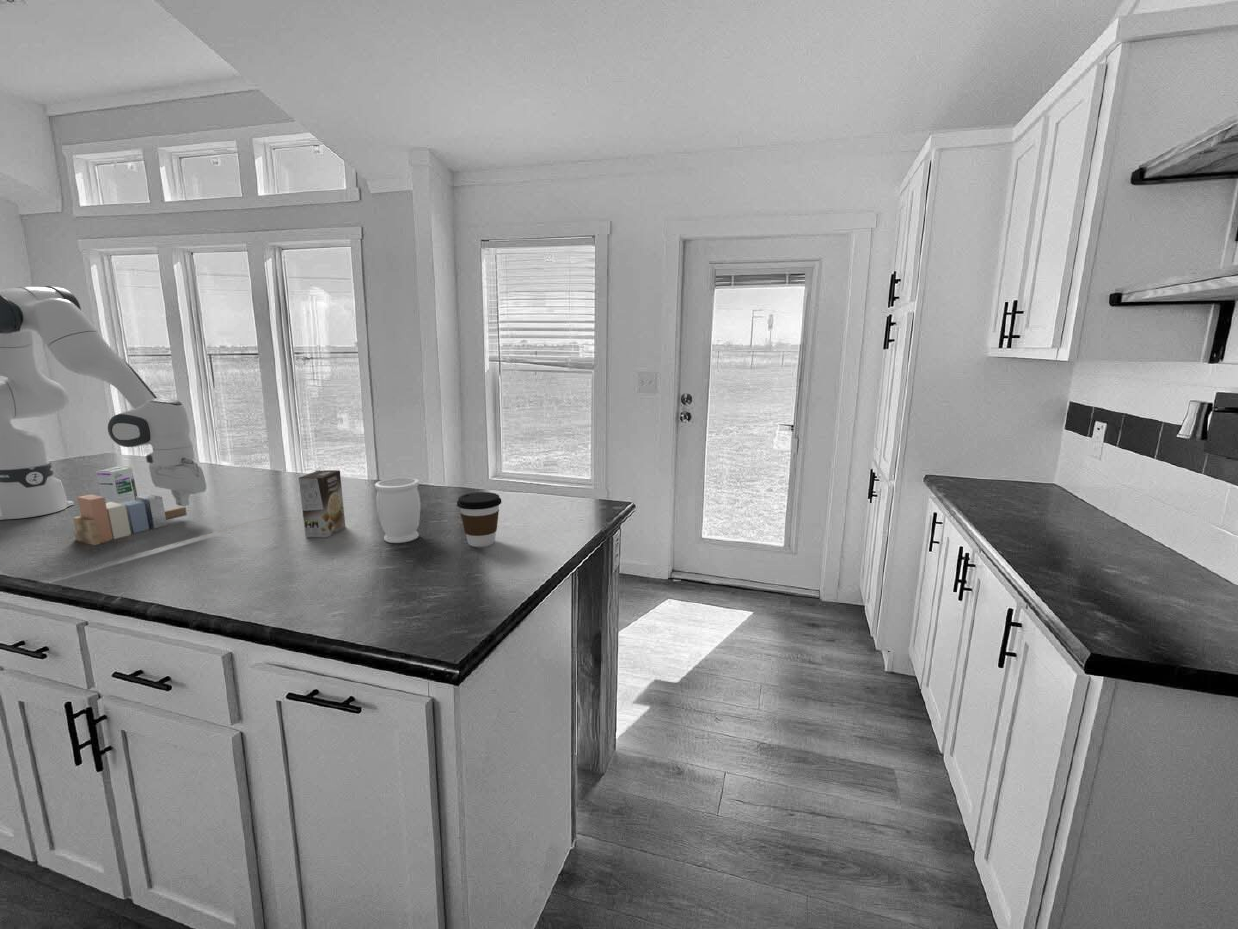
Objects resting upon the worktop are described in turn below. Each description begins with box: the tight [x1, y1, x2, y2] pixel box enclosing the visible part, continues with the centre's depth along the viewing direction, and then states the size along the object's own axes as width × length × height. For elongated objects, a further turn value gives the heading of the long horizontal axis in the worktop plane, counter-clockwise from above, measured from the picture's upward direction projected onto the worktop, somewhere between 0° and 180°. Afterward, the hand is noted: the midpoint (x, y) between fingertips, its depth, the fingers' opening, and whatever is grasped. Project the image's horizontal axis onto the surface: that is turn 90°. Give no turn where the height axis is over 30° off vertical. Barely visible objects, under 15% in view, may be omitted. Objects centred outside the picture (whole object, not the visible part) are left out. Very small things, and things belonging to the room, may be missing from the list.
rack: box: [72, 506, 187, 546], centre depth 153 cm, size 9×25×7 cm, turn 155°
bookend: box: [136, 494, 168, 529], centre depth 155 cm, size 7×3×8 cm, turn 65°
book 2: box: [106, 502, 132, 540], centre depth 147 cm, size 7×4×8 cm, turn 65°
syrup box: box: [95, 466, 138, 503], centre depth 165 cm, size 6×6×14 cm
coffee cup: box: [456, 491, 502, 548], centre depth 144 cm, size 11×11×12 cm
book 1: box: [76, 494, 113, 542], centre depth 144 cm, size 6×3×11 cm, turn 65°
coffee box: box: [298, 469, 346, 539], centre depth 151 cm, size 9×6×16 cm
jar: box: [374, 477, 421, 544], centre depth 147 cm, size 11×10×15 cm
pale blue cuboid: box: [118, 500, 150, 534], centre depth 151 cm, size 5×3×8 cm, turn 65°
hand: (182, 505), depth 161 cm, fingers closed
